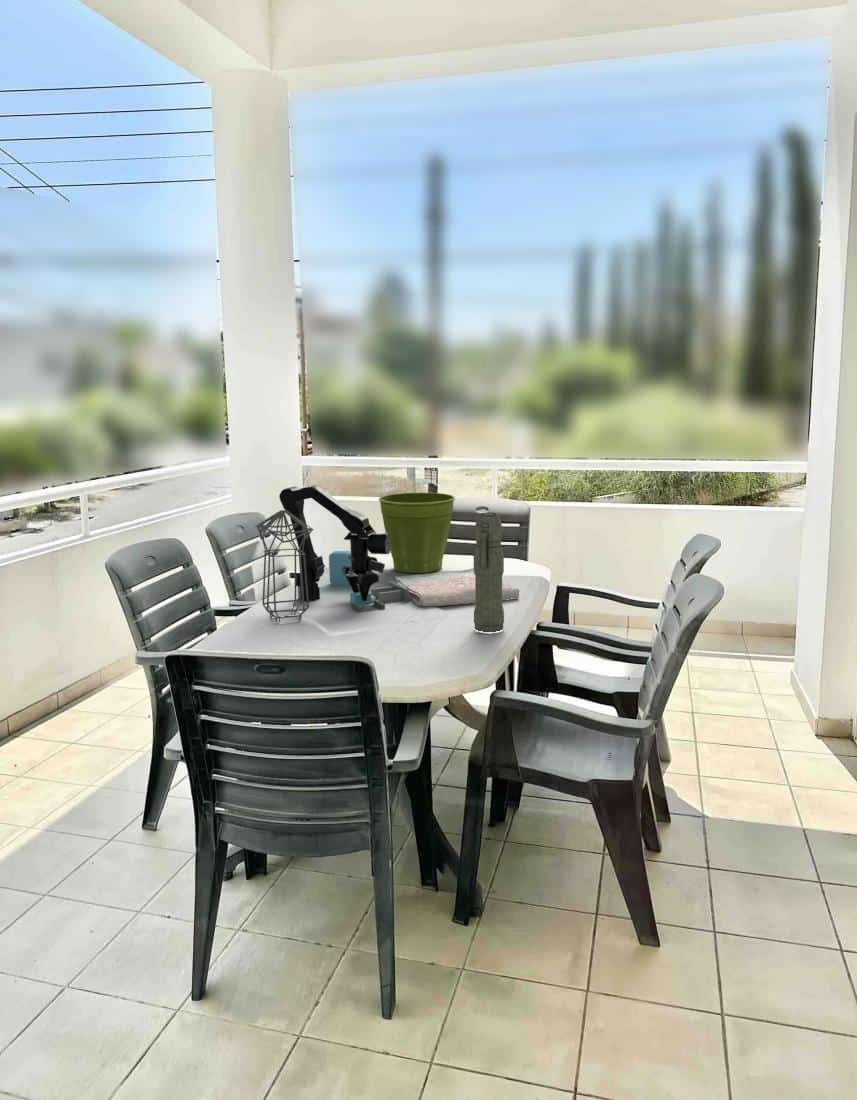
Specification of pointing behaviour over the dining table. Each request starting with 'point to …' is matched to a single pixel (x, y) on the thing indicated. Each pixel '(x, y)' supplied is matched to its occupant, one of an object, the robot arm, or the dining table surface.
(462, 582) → the towel
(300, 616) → the geometric lantern
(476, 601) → the flashlight
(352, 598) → the plug
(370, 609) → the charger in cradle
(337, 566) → the data package
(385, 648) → the dining table surface
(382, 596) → the socket
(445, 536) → the plant pot
